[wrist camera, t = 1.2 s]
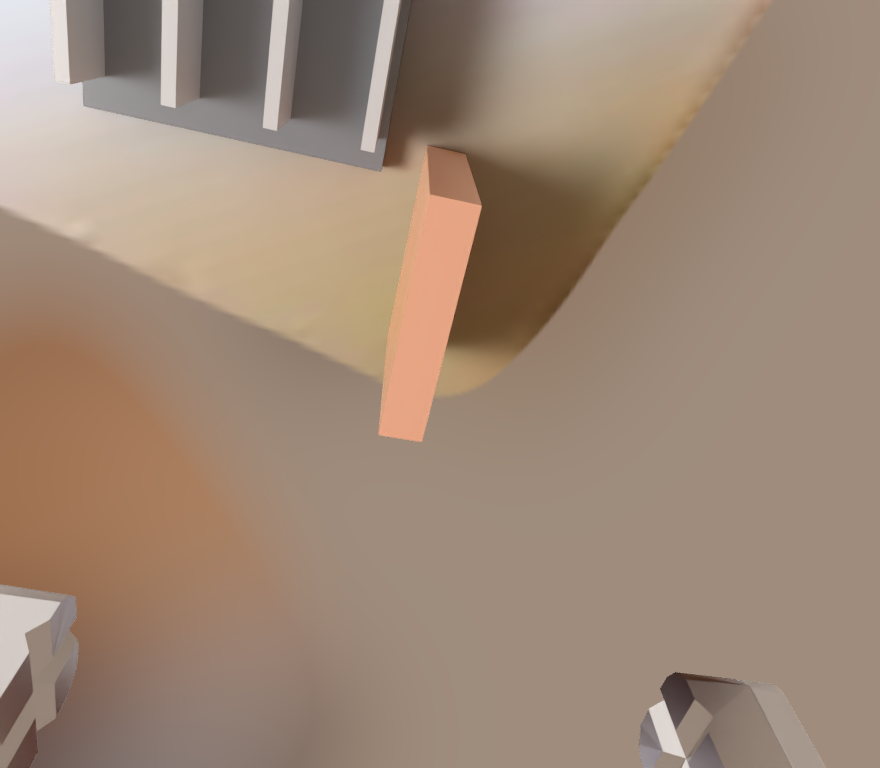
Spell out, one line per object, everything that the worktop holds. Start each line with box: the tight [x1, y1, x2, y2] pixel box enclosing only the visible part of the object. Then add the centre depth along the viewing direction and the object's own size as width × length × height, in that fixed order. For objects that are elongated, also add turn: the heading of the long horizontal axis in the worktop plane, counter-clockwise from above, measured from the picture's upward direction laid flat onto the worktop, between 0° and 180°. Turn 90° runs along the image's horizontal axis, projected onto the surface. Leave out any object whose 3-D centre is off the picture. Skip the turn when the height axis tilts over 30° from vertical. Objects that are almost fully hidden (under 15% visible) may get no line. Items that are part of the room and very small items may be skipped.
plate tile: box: [379, 145, 482, 442], centre depth 31 cm, size 11×2×10 cm, turn 167°
